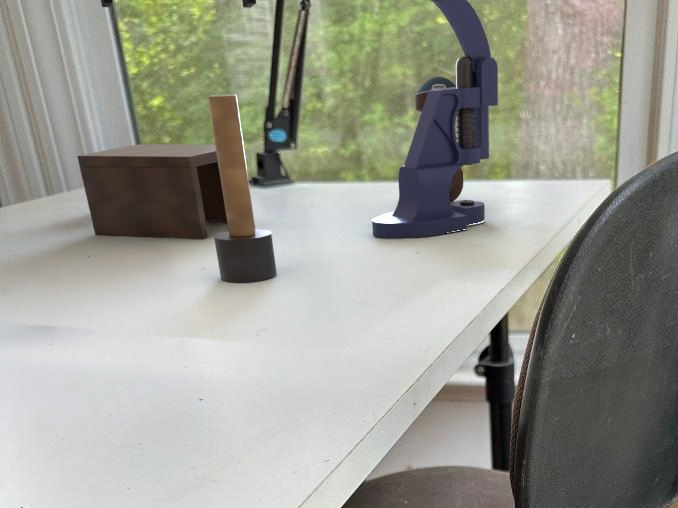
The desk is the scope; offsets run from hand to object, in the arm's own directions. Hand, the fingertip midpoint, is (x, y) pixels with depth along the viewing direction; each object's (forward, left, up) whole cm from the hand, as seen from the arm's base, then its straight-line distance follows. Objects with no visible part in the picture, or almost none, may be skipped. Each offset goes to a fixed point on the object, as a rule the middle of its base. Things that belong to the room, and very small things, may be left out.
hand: (180, 5), depth 87 cm
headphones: (+12, +37, -23) cm, 46 cm away
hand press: (+17, +19, -23) cm, 35 cm away
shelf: (-16, +14, -23) cm, 31 cm away
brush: (+8, -8, -23) cm, 26 cm away
